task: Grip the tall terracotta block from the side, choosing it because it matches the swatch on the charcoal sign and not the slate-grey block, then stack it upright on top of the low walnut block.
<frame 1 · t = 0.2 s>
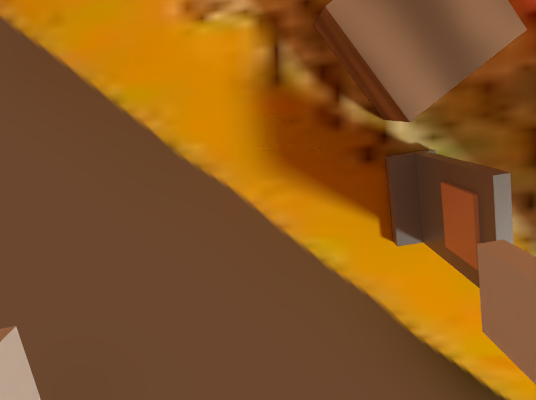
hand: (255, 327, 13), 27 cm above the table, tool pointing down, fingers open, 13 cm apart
walnut block: (396, 34, 37), on the table
charcoal sign: (411, 196, 40), on the table
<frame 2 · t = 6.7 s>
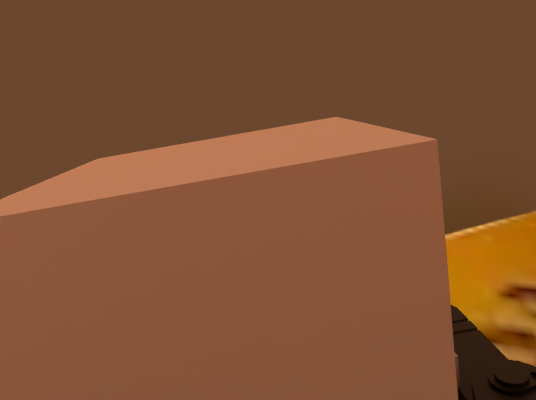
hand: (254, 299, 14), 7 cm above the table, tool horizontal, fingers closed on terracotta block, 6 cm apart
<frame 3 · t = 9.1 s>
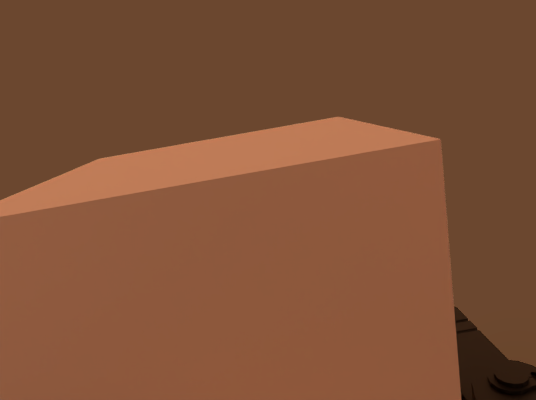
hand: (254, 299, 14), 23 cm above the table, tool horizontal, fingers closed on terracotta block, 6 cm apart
when the fingers open (15 cm above the table, at t = 11.6 s): terracotta block drops 2 cm, point 7 cm above the table.
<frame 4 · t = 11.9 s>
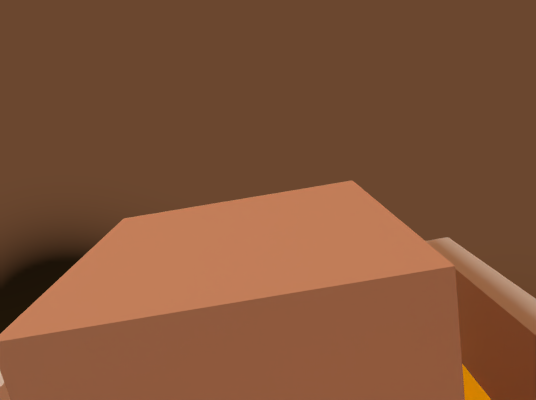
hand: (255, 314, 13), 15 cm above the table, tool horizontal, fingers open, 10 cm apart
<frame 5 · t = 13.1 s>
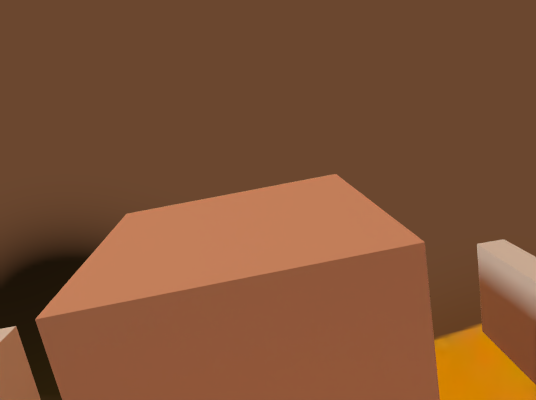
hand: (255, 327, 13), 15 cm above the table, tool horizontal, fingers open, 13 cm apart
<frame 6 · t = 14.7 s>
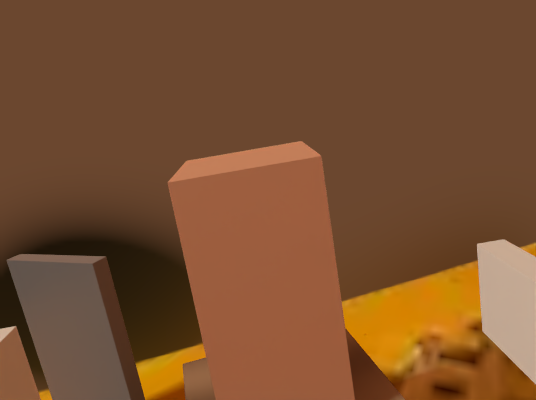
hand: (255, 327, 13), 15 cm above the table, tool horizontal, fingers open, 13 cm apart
terracotta block: (285, 388, 23), point 7 cm above the table, touching walnut block
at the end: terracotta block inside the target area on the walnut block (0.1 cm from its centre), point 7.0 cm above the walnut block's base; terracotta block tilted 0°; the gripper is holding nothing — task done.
